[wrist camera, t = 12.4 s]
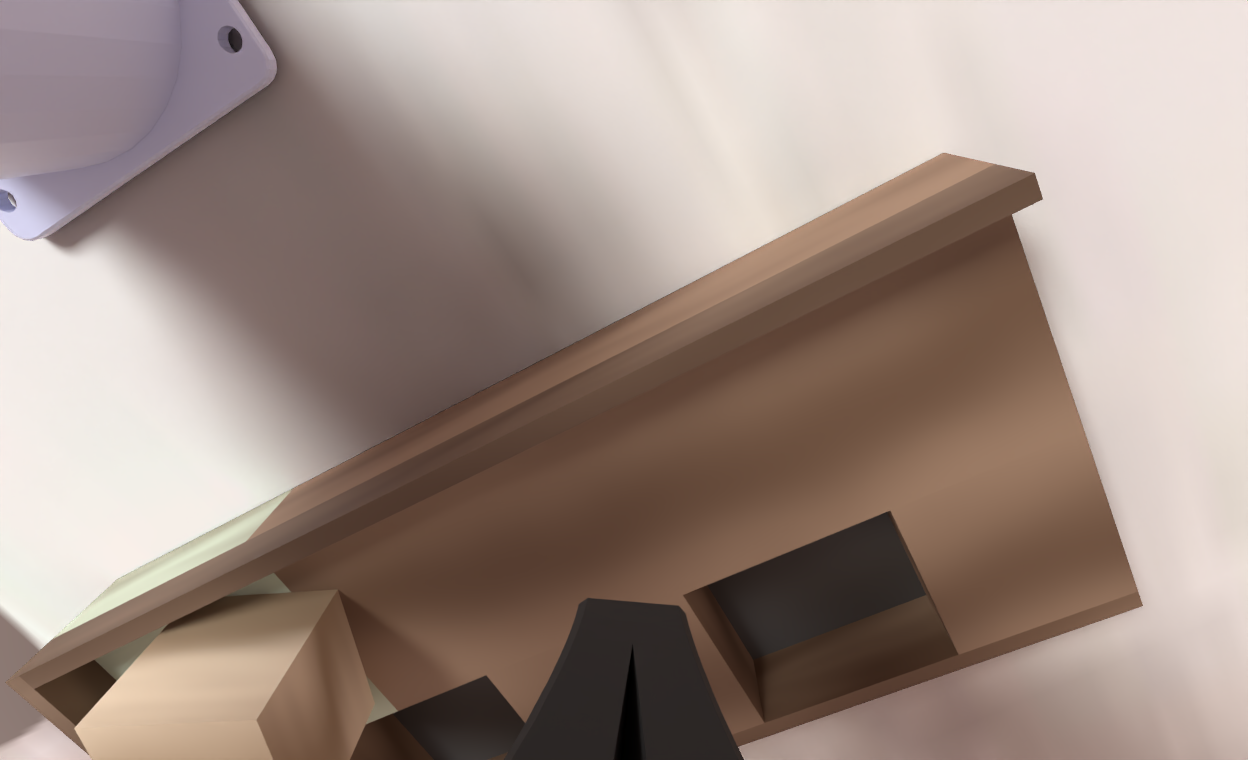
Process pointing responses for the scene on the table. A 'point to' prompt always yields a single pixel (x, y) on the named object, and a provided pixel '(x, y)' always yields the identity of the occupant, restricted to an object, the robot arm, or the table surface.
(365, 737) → the trap box
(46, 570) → the table surface
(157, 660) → the maple block
